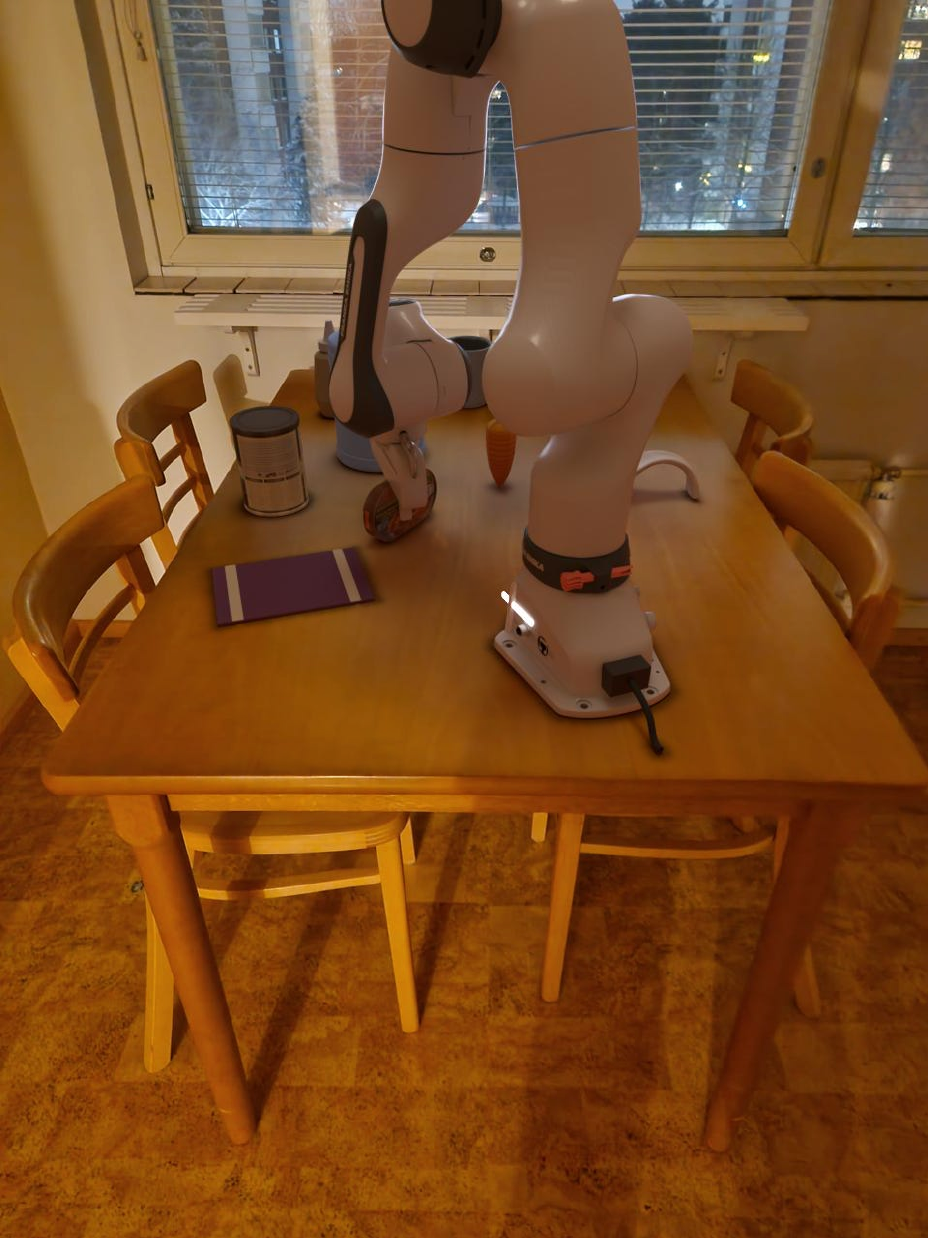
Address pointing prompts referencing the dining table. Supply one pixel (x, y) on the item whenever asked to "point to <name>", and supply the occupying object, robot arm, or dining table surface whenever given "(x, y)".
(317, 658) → the dining table surface
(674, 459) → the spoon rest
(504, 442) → the carrot
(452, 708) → the dining table surface
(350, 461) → the water jug
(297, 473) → the coffee can
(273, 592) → the cloth
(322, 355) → the squeeze bottle
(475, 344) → the grey cup
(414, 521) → the tin
